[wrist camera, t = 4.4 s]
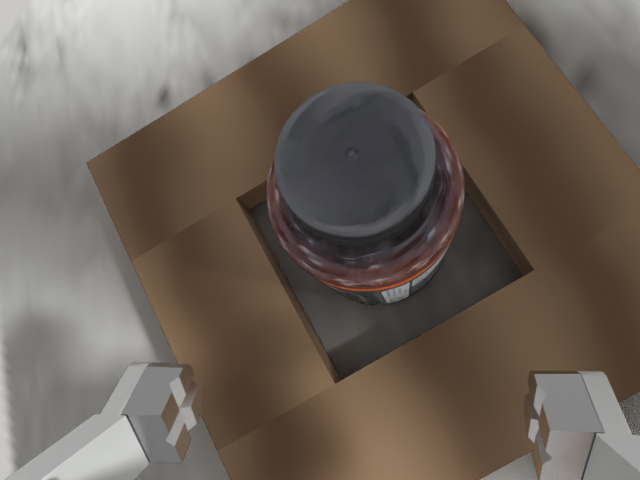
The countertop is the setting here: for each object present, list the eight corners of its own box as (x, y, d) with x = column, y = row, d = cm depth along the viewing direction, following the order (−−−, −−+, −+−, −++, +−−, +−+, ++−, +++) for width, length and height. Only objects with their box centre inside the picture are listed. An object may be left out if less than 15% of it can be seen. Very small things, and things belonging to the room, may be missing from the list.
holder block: (450, -33, 25) (454, -64, 23) (727, 325, 20) (761, 324, 18) (110, 176, 26) (86, 162, 24) (292, 566, 21) (280, 589, 19)
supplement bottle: (287, 241, 24) (184, 156, 13) (379, 153, 24) (352, -6, 13) (377, 335, 22) (346, 330, 11) (474, 240, 22) (536, 145, 12)
